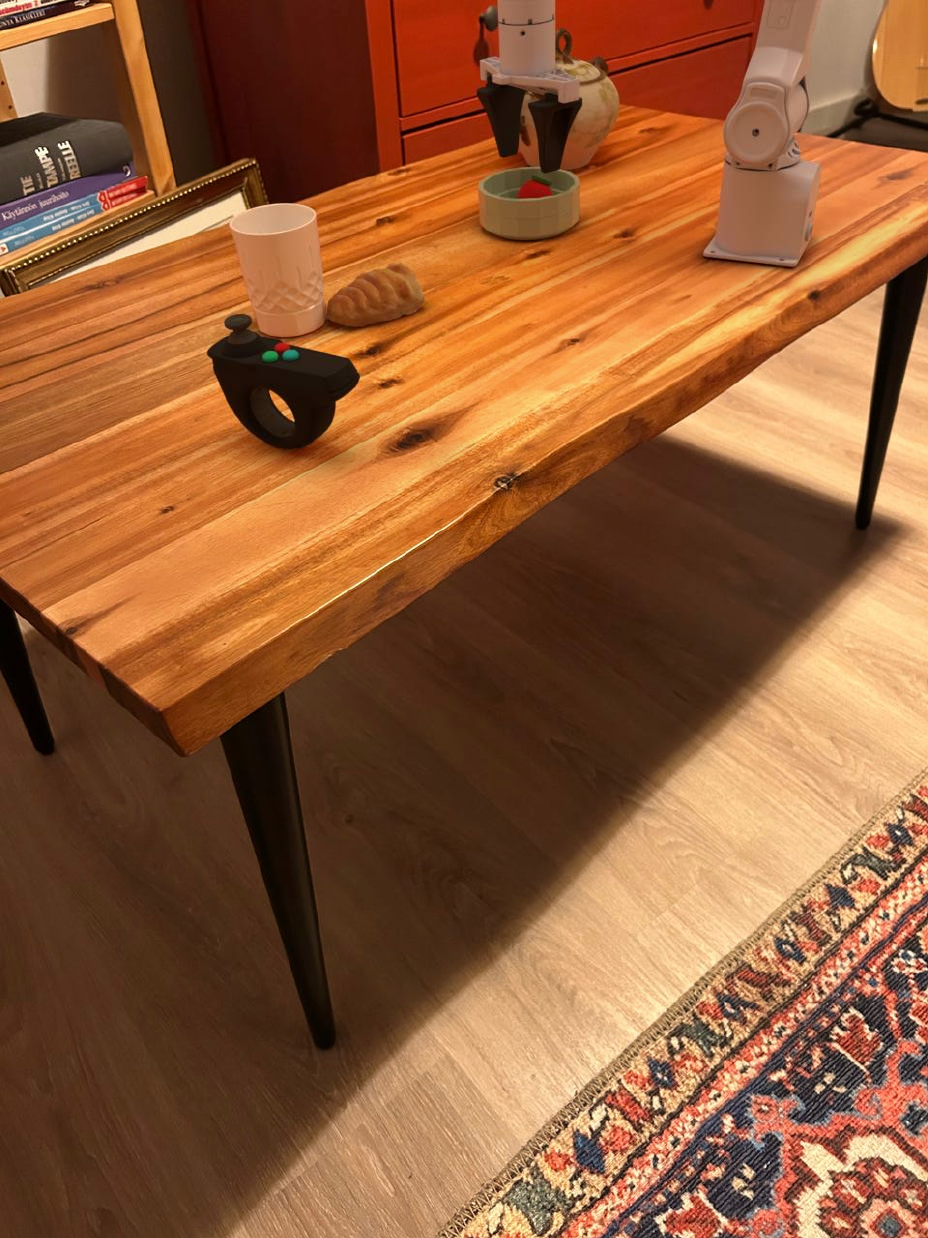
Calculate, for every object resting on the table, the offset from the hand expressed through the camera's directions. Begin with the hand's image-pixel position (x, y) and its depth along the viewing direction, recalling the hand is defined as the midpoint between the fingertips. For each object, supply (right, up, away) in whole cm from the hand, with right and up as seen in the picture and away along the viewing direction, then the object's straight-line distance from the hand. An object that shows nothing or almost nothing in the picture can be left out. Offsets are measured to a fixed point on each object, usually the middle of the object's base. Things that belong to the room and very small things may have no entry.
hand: (529, 162), depth 106 cm
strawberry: (0, -4, +4) cm, 6 cm away
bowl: (0, -5, +4) cm, 7 cm away
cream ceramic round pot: (+5, +10, +21) cm, 24 cm away
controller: (-20, -36, -29) cm, 51 cm away
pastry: (-15, -20, -11) cm, 27 cm away
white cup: (-24, -21, -11) cm, 34 cm away
